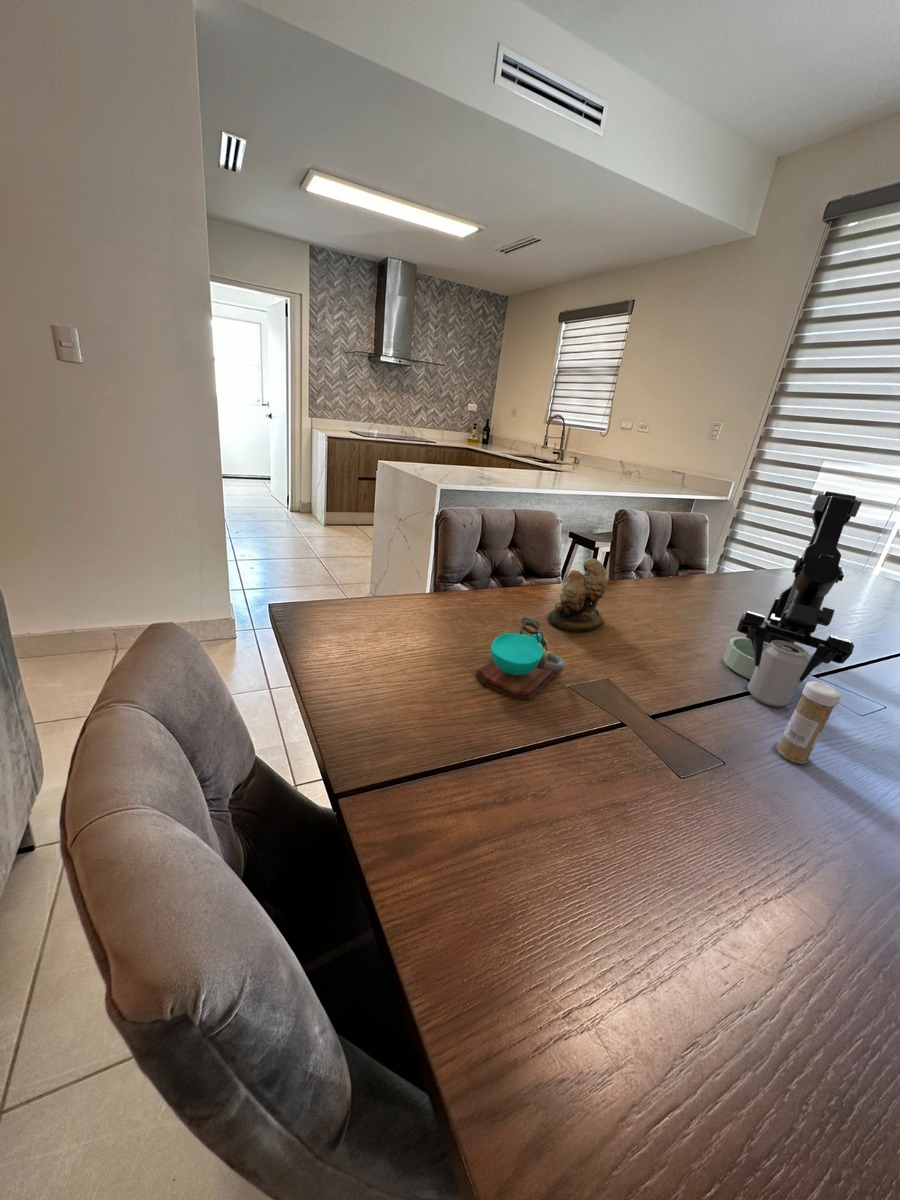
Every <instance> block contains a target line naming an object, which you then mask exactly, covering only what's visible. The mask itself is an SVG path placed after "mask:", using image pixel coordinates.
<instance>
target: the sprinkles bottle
mask: <svg viewBox="0 0 900 1200" xmlns="http://www.w3.org/2000/svg"><path fill="white" fill-rule="evenodd" d="M840 699H841V693H840V692H839V691H838V690H837V689H835V688H834V687H832V686H830V685H827V684H825V683H822V682H818V681H808V682H806V683H805V686H804V688H803V690H802V693H801V697H800V699H799V701H798V703H797V705H796V707H795V709H794V711H793V713H792V715H791V717H790V719H789V721H788V723H787V725H786V727H785V728H784V732H783V735H782V737H781V739H780V741H779V743H778V744H777V746H776V752H777V753H778V754H779V756H781V757H782V758H784V759H786V760H788V761H790V762H791V763H794V764H799V765H804V764H806V763H808V762H809V757H810V756H811V753H812V752H813V749H814V748H815V747H816V745H817V743H818V741H819V739H820V737H821V735H822V732H823V730H824V728H825V725H826V723H827V722H828V720H829V719H830V715H831V714H832V712H833V709H834V708H835V707H836V706H837V705H838V704H839V701H840Z"/></svg>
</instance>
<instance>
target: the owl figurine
mask: <svg viewBox="0 0 900 1200" xmlns="http://www.w3.org/2000/svg"><path fill="white" fill-rule="evenodd" d="M583 570H584V574H583V573H582V572H581V571H579V570H577V569H571V570H569V572H568V575H567V576H566V577H565V578H564V581H563V583H562V587H561V589H560V593H559V600H560V602H556V603H555V605H554V609H553V610H551V611H550V612H549V615H548V621H549V623H550V624H551V625H552V626H554V627H555V628H558V629H560V630H564V631H566V632H570V633H571V632H572V633H573V632H574V633H579V632H580V633H582V632H588V631H592V630H595V629H597V628H598V627H599V626H600V625H601V624H602V622H603V615H602V614H601V612H600V611H599V610H598V609H597V606H598V603H599V601H600V600H601V599H602V598H603V597H604V594H605V593H606V590H607V587H608V586H607V585H608V577H607V571H606V568H605V566H604V564H603V563H602V562H601V561H600V560H599V559H596V558H593V557H589V558H587V559H585V560H584V563H583Z"/></svg>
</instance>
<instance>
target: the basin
mask: <svg viewBox="0 0 900 1200" xmlns="http://www.w3.org/2000/svg"><path fill="white" fill-rule="evenodd" d="M769 644H770V643H768V642H764V644H763V649H762V652H763V650H764V647H765V646H767V645H769ZM761 654H762V653H761ZM722 660H723V662H724V664H725V665H726V666H727V667H728V668H730V669H731V670H732V671H733V672H735V673H736V674H738V675H739V676H741V677H744V678H746V679H748V680H749V681H750V680H751V678H752V676H753V673H754V671H755V668H756V666H755V661H754V650H753V646H752V642H751V639H748V638H747V637H745V636H744V637H743V636H741V637H740V636H738V637H737V636H736V637H732V638H731V639H729V641H728V644H727V647H726V648H725V652H724V655H723V659H722Z"/></svg>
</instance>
